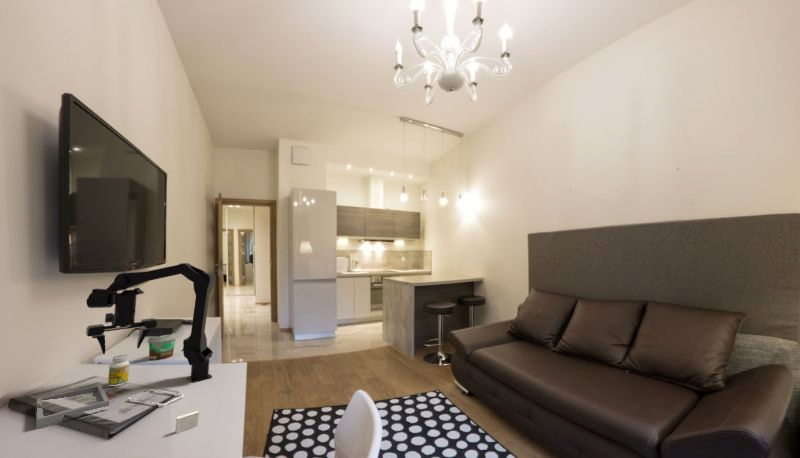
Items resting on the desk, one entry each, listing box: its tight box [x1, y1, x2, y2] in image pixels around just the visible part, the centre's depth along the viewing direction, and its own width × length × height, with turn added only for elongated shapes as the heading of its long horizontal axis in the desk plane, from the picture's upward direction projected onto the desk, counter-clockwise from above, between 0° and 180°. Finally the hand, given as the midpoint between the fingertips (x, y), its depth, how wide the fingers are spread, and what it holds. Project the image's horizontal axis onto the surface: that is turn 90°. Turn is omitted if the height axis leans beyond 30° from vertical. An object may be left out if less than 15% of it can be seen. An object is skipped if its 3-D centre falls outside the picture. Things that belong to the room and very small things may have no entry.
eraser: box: [175, 410, 200, 434], centre depth 82 cm, size 1×5×4 cm, turn 137°
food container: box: [147, 331, 178, 361], centre depth 139 cm, size 12×6×10 cm, turn 168°
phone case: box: [127, 389, 185, 408], centre depth 99 cm, size 7×1×15 cm
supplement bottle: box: [107, 354, 130, 386], centre depth 110 cm, size 5×5×10 cm
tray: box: [35, 384, 110, 430], centre depth 92 cm, size 18×14×2 cm
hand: (121, 351), depth 110 cm, fingers open, 9 cm apart
